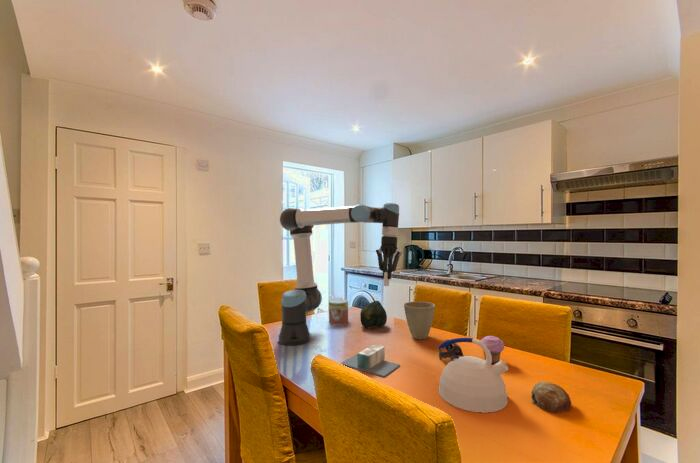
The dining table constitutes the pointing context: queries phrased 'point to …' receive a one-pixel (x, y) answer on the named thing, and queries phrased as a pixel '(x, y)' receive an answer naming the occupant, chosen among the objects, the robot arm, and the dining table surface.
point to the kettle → (473, 381)
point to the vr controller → (450, 351)
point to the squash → (373, 315)
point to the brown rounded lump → (551, 397)
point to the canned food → (338, 311)
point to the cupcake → (493, 347)
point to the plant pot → (419, 318)
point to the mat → (379, 369)
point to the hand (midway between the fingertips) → (386, 285)
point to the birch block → (370, 356)
